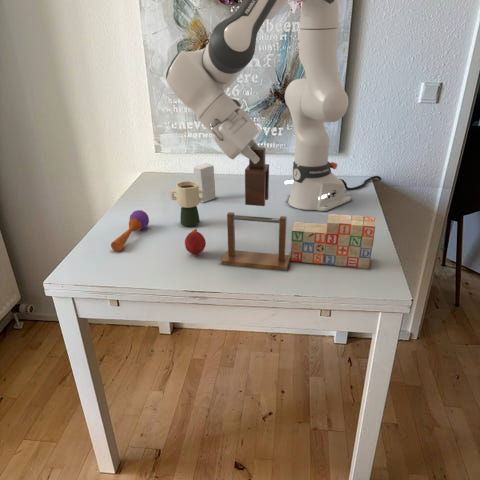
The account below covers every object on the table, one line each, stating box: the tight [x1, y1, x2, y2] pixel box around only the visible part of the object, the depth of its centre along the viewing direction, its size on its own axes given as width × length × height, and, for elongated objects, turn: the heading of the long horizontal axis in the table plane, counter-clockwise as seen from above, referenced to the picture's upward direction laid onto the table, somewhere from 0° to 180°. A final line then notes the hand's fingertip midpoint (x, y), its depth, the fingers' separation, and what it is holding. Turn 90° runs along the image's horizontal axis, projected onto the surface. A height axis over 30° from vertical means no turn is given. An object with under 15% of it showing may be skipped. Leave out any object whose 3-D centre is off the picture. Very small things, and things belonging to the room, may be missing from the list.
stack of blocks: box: [290, 213, 376, 270], centre depth 131 cm, size 21×6×12 cm, turn 77°
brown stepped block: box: [244, 146, 270, 207], centre depth 123 cm, size 6×5×14 cm
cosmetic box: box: [193, 162, 216, 204], centre depth 173 cm, size 6×4×12 cm
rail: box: [221, 211, 291, 272], centre depth 131 cm, size 18×7×14 cm, turn 76°
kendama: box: [110, 209, 150, 253], centre depth 148 cm, size 6×6×20 cm
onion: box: [184, 228, 207, 256], centre depth 136 cm, size 6×6×8 cm
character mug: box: [170, 180, 205, 227], centre depth 154 cm, size 11×7×13 cm, turn 84°
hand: (259, 159), depth 121 cm, fingers closed on brown stepped block, 2 cm apart
